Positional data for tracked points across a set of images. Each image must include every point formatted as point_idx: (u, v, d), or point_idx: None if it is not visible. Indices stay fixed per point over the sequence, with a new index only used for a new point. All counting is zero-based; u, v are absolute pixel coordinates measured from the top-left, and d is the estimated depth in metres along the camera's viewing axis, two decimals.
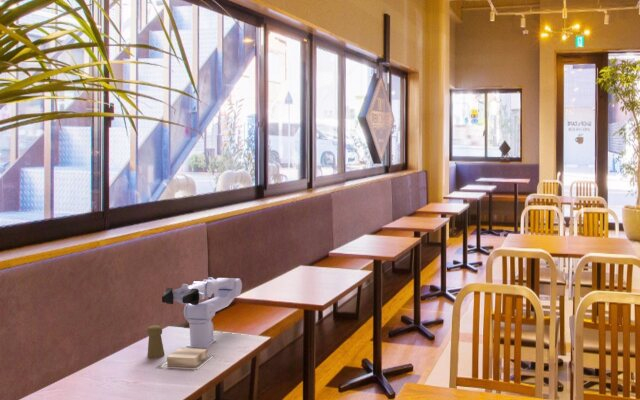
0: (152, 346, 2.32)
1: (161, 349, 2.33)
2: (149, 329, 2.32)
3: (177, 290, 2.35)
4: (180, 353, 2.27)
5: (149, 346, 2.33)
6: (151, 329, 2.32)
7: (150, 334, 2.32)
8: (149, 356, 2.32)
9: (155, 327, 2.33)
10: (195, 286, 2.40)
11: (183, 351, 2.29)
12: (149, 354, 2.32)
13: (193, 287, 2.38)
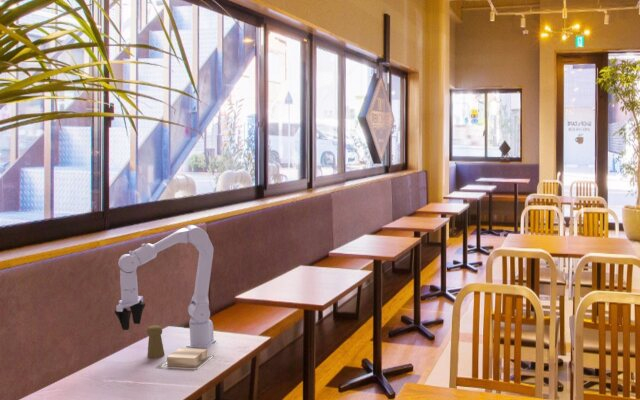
0: (152, 346, 2.32)
1: (161, 349, 2.33)
2: (149, 329, 2.32)
3: None
4: (180, 353, 2.27)
5: (149, 346, 2.33)
6: (151, 329, 2.32)
7: (150, 334, 2.32)
8: (149, 356, 2.32)
9: (155, 327, 2.33)
10: (122, 288, 2.32)
11: (183, 351, 2.29)
12: (149, 354, 2.32)
13: (121, 292, 2.34)
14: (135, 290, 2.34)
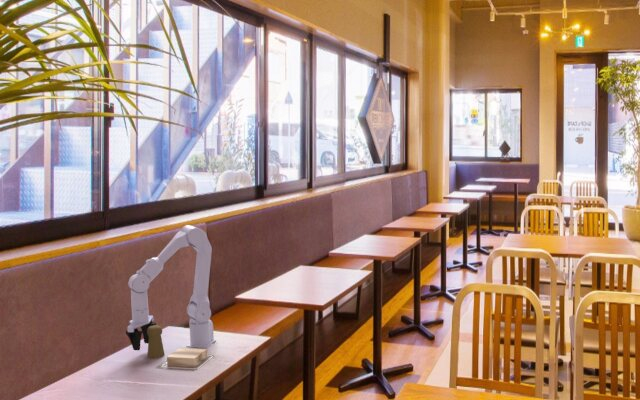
0: (152, 346, 2.32)
1: (161, 349, 2.33)
2: (149, 329, 2.32)
3: None
4: (180, 353, 2.27)
5: (149, 346, 2.33)
6: (151, 329, 2.32)
7: (150, 334, 2.32)
8: (149, 356, 2.32)
9: (155, 327, 2.33)
10: (134, 309, 2.32)
11: (183, 351, 2.29)
12: (149, 354, 2.32)
13: (132, 312, 2.34)
14: (146, 310, 2.33)
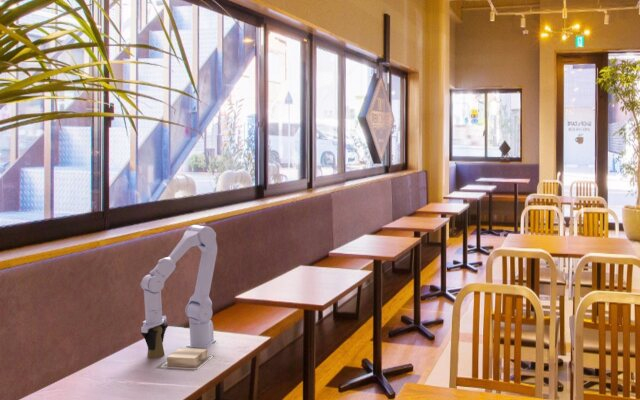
0: None
1: (161, 349, 2.33)
2: None
3: None
4: (180, 353, 2.27)
5: None
6: None
7: None
8: (149, 356, 2.32)
9: (155, 327, 2.33)
10: (149, 309, 2.30)
11: (183, 351, 2.29)
12: (149, 354, 2.32)
13: (145, 312, 2.32)
14: (159, 311, 2.32)
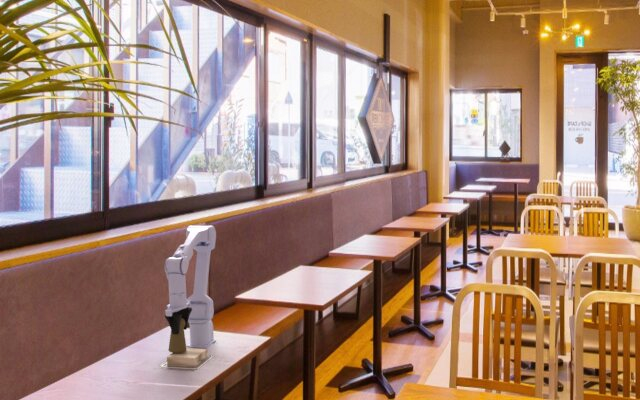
0: (175, 339, 2.26)
1: (184, 342, 2.28)
2: None
3: None
4: (180, 353, 2.27)
5: (171, 339, 2.27)
6: None
7: None
8: (171, 349, 2.26)
9: None
10: (178, 292, 2.24)
11: None
12: (171, 347, 2.26)
13: (169, 296, 2.26)
14: (184, 294, 2.25)
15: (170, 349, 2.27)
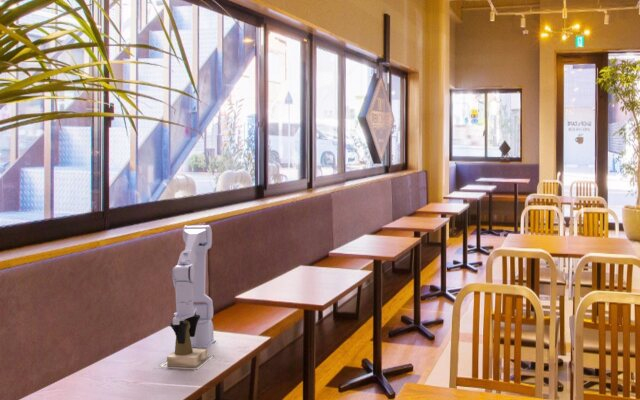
0: None
1: (189, 345, 2.26)
2: None
3: None
4: None
5: (177, 342, 2.25)
6: None
7: None
8: (177, 352, 2.25)
9: (183, 322, 2.25)
10: (187, 300, 2.23)
11: None
12: (177, 350, 2.25)
13: (176, 304, 2.25)
14: (191, 302, 2.24)
15: (176, 352, 2.25)
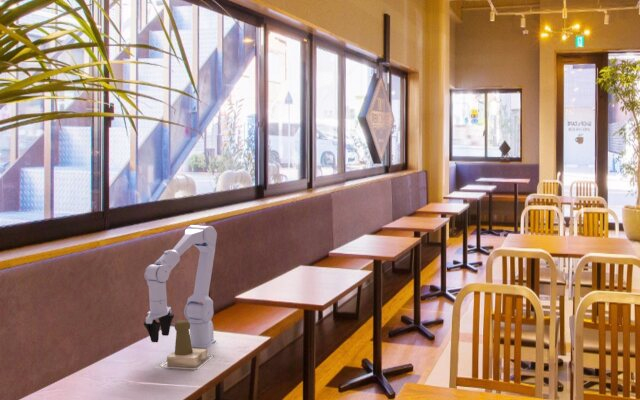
0: (180, 341, 2.25)
1: (189, 345, 2.26)
2: (177, 324, 2.25)
3: None
4: None
5: (177, 342, 2.25)
6: (179, 324, 2.25)
7: (178, 329, 2.24)
8: (177, 352, 2.25)
9: (183, 322, 2.25)
10: (156, 300, 2.25)
11: None
12: (177, 350, 2.25)
13: None
14: (164, 301, 2.27)
15: (176, 352, 2.25)
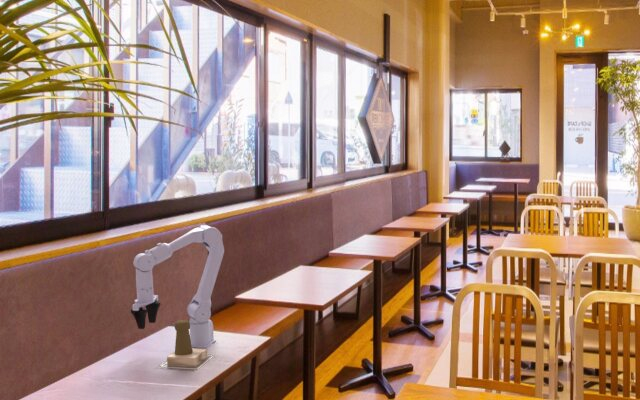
0: (180, 341, 2.25)
1: (189, 345, 2.26)
2: (177, 324, 2.25)
3: None
4: None
5: (177, 342, 2.25)
6: (179, 324, 2.25)
7: (178, 329, 2.24)
8: (177, 352, 2.25)
9: (183, 322, 2.25)
10: (138, 287, 2.33)
11: None
12: (177, 350, 2.25)
13: None
14: (151, 289, 2.34)
15: (176, 352, 2.25)
